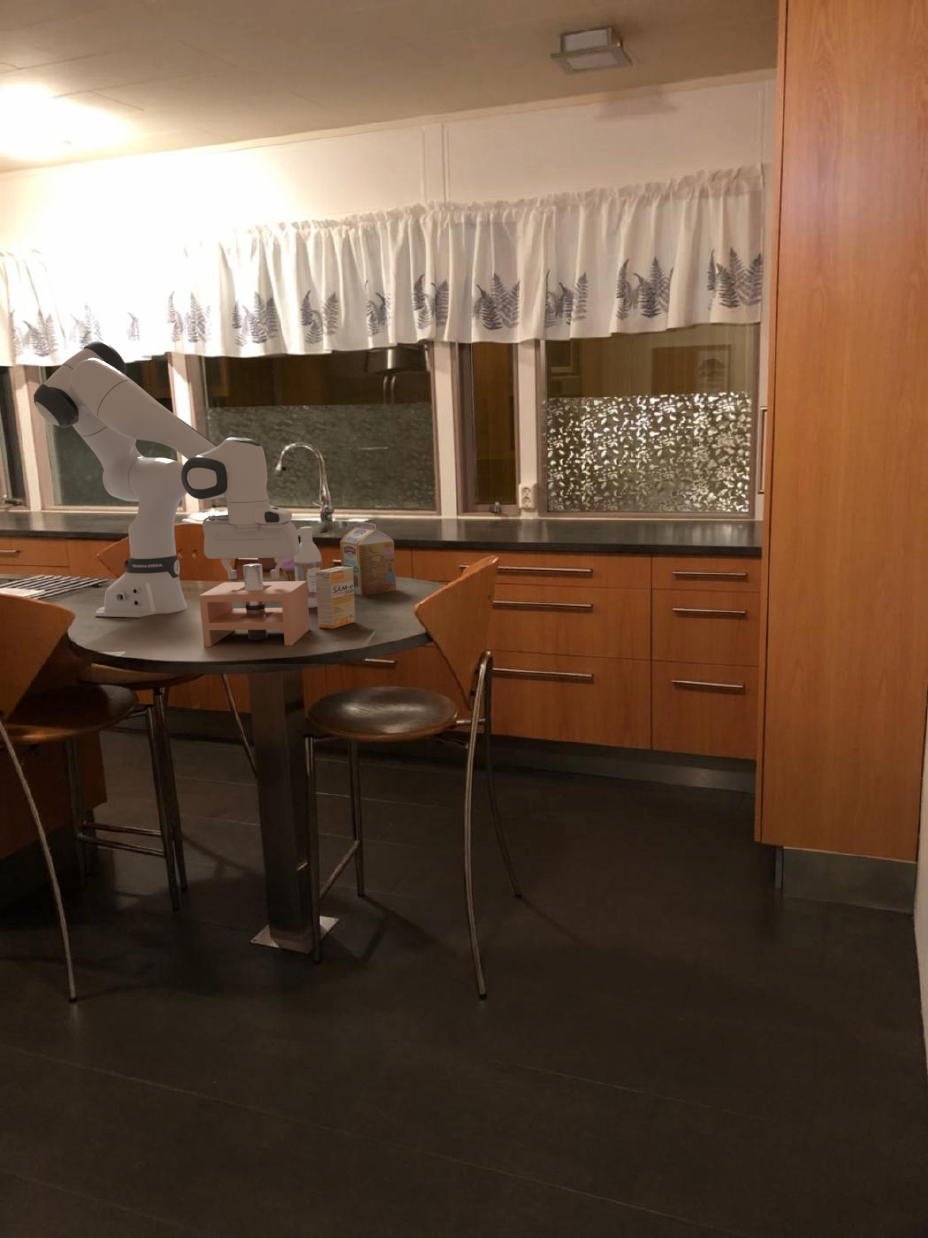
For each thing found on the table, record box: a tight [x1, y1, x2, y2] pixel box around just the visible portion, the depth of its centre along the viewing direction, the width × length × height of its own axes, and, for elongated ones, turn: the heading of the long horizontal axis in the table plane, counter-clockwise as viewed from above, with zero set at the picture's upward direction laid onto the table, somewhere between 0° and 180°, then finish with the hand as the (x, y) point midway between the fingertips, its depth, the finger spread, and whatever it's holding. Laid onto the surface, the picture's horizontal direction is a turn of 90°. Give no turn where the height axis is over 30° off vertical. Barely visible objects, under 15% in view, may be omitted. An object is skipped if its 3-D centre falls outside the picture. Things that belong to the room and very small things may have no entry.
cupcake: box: [281, 557, 295, 581], centre depth 281 cm, size 9×9×10 cm
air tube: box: [242, 563, 268, 641], centre depth 214 cm, size 4×4×16 cm
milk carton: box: [339, 521, 397, 597], centre depth 264 cm, size 11×11×19 cm
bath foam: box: [294, 526, 324, 609], centre depth 248 cm, size 7×7×20 cm
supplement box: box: [315, 566, 356, 629], centre depth 224 cm, size 8×5×13 cm, turn 148°
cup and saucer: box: [257, 558, 283, 574], centre depth 303 cm, size 12×12×6 cm
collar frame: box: [198, 580, 311, 647], centre depth 214 cm, size 19×16×11 cm
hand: (253, 578), depth 213 cm, fingers open, 8 cm apart
